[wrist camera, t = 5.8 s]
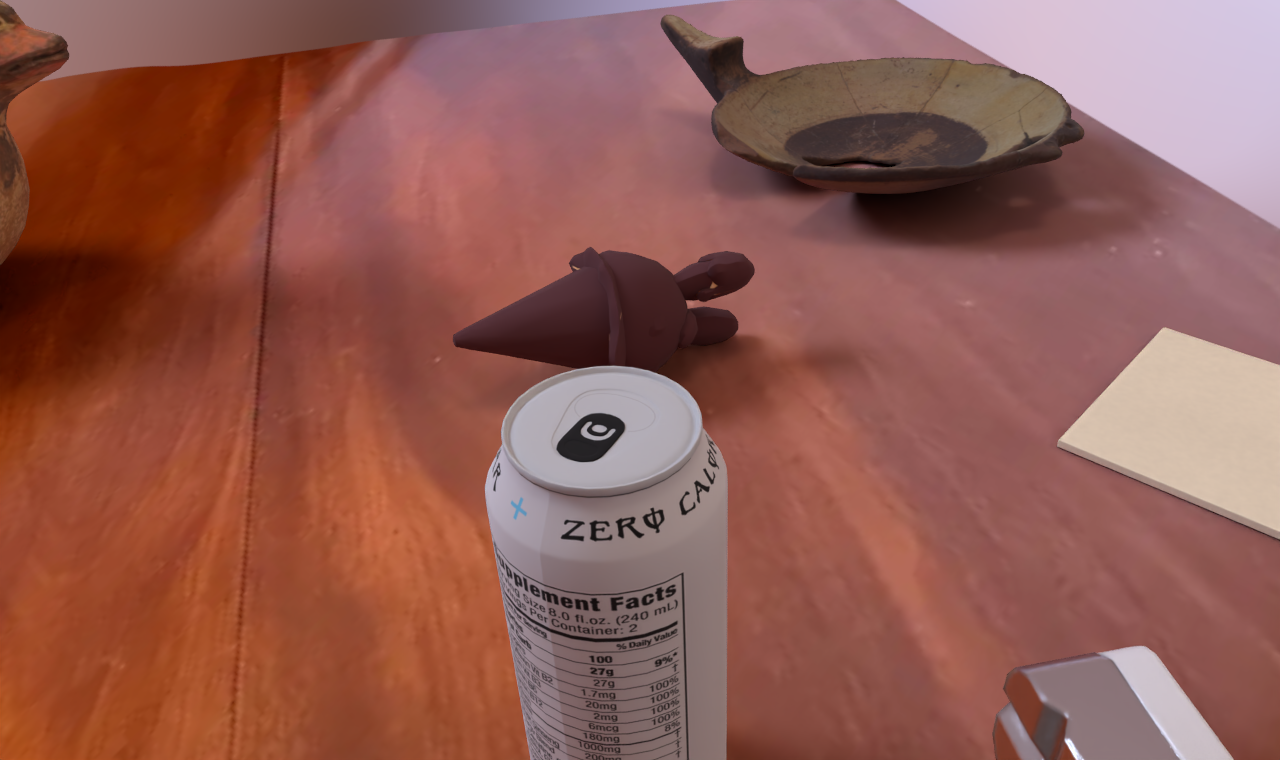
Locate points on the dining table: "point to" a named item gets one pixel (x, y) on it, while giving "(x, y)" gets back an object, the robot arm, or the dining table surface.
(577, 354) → the maroon pointed figurine
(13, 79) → the ceramic vessel
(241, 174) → the dining table surface
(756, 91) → the olive ceramic shallow bowl
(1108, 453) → the beige rectangular board
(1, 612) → the dining table surface
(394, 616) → the dining table surface
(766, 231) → the dining table surface
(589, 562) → the energy drink can
